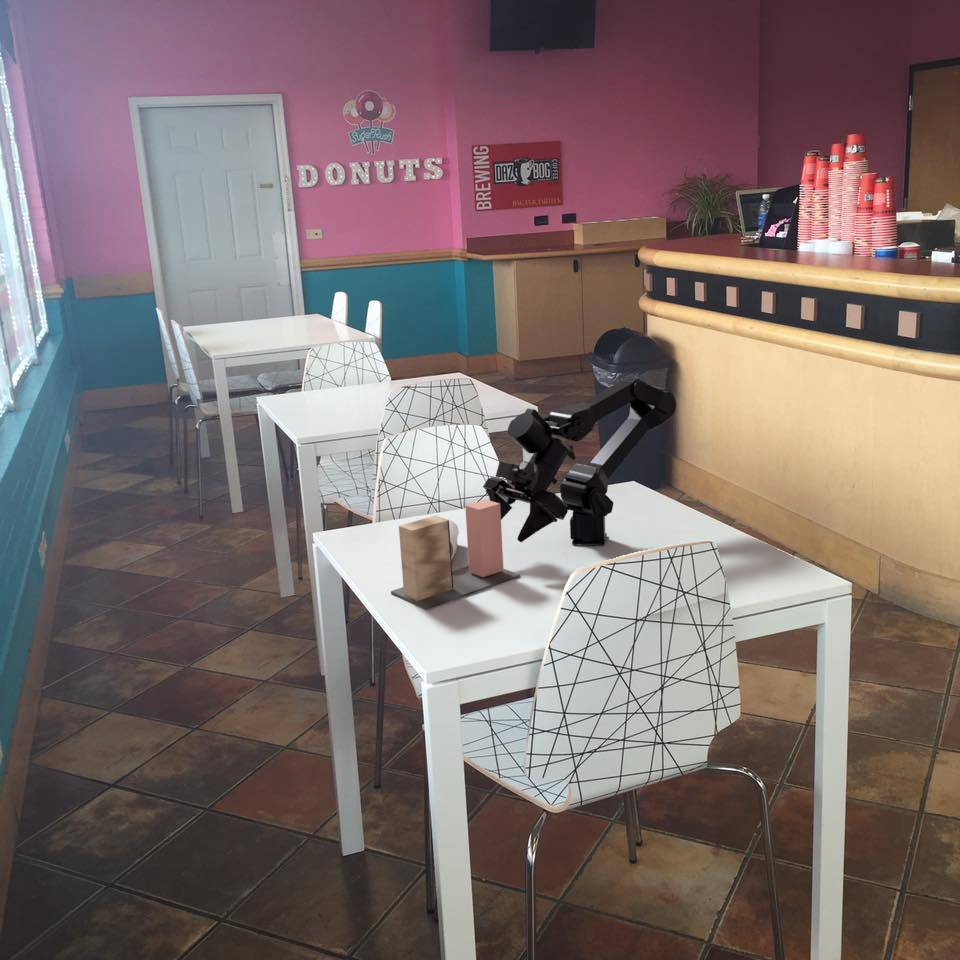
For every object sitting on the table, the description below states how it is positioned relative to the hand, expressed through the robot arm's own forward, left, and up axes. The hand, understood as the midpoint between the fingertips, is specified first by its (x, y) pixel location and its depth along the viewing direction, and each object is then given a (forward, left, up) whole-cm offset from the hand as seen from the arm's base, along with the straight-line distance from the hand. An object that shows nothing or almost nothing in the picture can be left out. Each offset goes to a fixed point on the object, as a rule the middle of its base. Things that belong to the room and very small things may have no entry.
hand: (503, 535), depth 194 cm
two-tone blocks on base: (+7, +9, -7) cm, 13 cm away
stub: (+3, +3, -7) cm, 8 cm away
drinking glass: (+15, -15, -4) cm, 21 cm away
